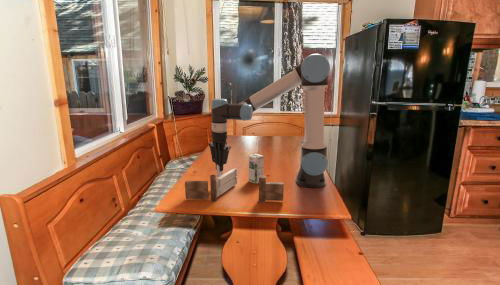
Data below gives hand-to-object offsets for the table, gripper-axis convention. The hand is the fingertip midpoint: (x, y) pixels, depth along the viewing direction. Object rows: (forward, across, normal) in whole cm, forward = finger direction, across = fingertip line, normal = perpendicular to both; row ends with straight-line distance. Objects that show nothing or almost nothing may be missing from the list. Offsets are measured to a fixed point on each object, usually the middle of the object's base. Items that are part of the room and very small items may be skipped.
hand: (219, 176), depth 147 cm
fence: (+5, +17, -8) cm, 19 cm away
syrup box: (+5, +11, +17) cm, 21 cm away
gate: (+4, +7, -3) cm, 9 cm away
